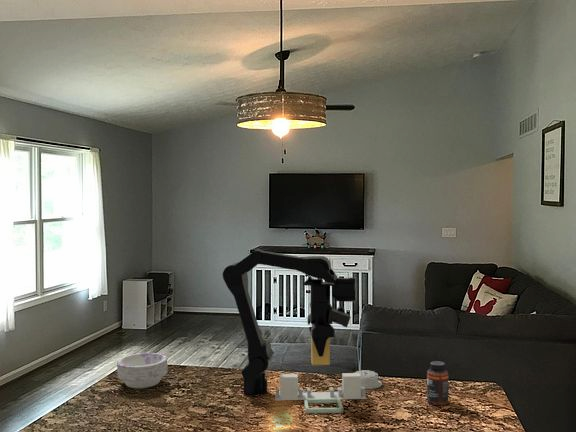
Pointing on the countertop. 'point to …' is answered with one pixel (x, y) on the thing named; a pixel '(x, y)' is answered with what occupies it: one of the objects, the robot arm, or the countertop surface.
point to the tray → (324, 410)
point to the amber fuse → (315, 357)
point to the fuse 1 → (288, 385)
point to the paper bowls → (142, 369)
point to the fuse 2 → (351, 385)
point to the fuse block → (320, 394)
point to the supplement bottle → (437, 384)
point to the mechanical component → (369, 379)
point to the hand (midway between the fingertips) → (320, 354)
